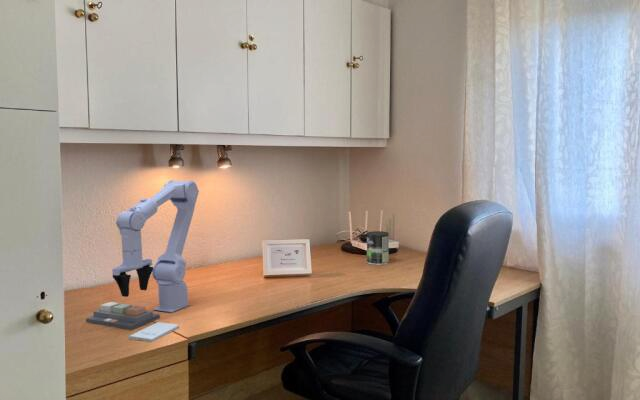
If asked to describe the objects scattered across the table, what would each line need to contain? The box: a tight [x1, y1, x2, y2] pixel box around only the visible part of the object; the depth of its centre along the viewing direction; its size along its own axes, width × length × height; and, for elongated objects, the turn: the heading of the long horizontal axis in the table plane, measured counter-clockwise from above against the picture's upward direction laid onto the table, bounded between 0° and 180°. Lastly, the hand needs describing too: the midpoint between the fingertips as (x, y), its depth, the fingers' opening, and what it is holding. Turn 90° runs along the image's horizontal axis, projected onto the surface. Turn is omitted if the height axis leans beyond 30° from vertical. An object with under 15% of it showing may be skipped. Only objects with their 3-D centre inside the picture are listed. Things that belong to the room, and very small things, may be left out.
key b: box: [113, 303, 133, 315], centre depth 164 cm, size 4×4×2 cm
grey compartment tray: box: [85, 308, 161, 331], centre depth 164 cm, size 12×19×3 cm, turn 65°
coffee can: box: [366, 230, 390, 266], centre depth 241 cm, size 10×10×14 cm
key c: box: [126, 305, 146, 317], centre depth 162 cm, size 4×4×2 cm
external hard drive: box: [128, 321, 180, 343], centre depth 152 cm, size 2×8×12 cm
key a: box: [99, 301, 120, 313], centre depth 166 cm, size 4×4×2 cm
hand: (134, 293), depth 161 cm, fingers open, 7 cm apart
